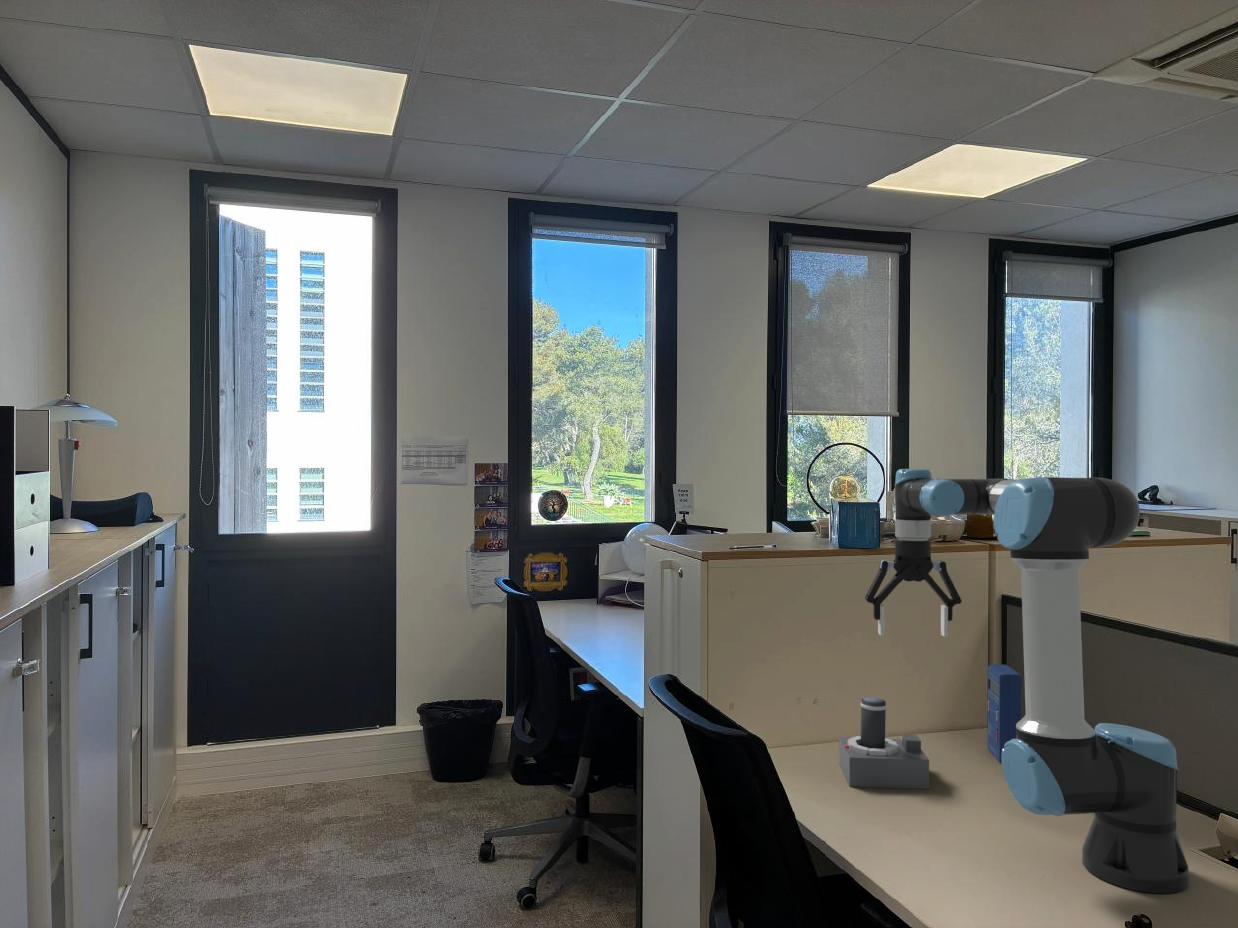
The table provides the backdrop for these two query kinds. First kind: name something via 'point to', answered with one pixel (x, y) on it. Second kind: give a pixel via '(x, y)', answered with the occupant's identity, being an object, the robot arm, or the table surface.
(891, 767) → the camera body
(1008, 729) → the electronic device
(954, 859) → the table surface
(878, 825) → the table surface
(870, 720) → the lens
